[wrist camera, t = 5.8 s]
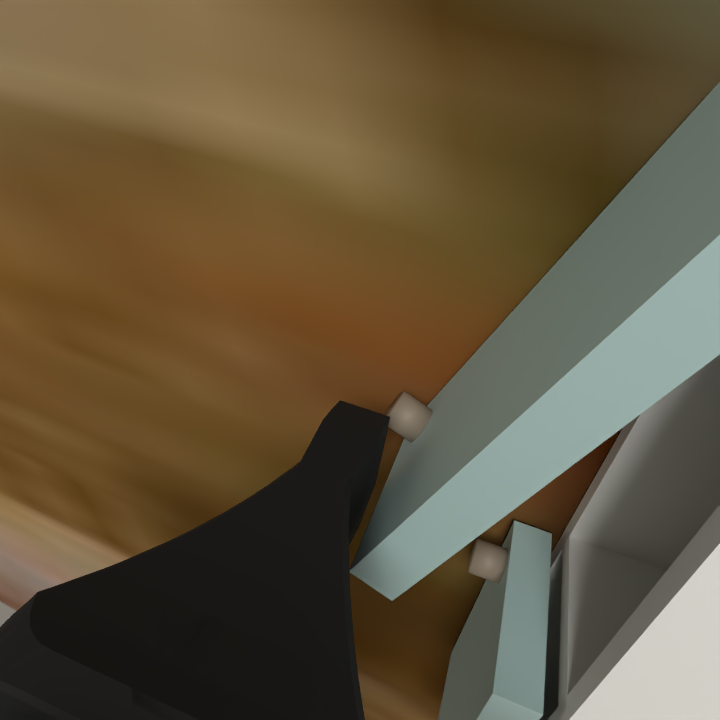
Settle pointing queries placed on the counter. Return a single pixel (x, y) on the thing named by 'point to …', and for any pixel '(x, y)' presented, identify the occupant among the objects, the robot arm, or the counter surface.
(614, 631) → the cabinet
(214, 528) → the robot arm
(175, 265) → the counter surface
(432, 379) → the counter surface
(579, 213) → the counter surface
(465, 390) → the door
